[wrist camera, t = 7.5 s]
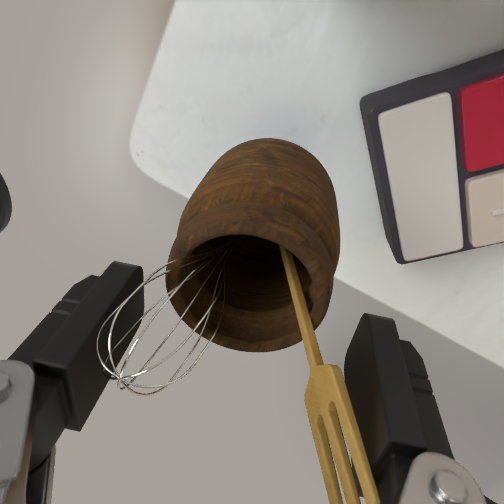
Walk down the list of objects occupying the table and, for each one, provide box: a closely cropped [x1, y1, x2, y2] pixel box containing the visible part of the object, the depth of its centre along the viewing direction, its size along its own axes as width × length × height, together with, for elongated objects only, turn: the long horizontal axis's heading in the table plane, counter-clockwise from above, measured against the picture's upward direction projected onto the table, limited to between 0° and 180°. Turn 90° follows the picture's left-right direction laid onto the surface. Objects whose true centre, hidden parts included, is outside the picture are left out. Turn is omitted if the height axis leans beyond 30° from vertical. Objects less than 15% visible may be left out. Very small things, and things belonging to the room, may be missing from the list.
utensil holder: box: [96, 138, 380, 504], centre depth 12 cm, size 6×6×12 cm
